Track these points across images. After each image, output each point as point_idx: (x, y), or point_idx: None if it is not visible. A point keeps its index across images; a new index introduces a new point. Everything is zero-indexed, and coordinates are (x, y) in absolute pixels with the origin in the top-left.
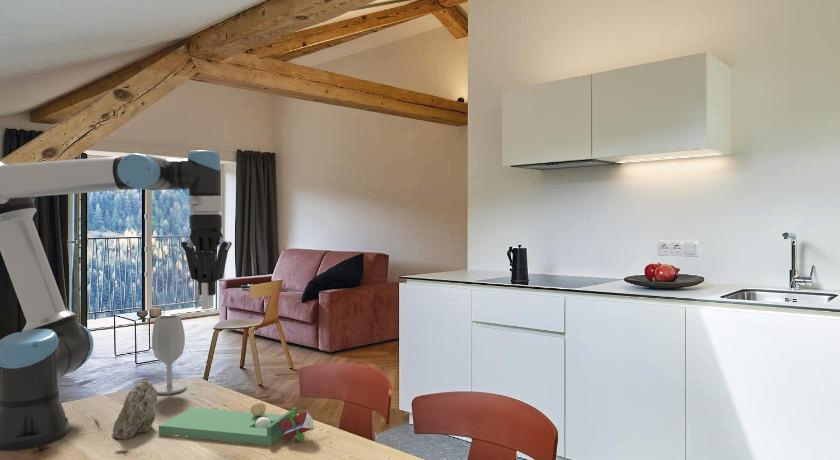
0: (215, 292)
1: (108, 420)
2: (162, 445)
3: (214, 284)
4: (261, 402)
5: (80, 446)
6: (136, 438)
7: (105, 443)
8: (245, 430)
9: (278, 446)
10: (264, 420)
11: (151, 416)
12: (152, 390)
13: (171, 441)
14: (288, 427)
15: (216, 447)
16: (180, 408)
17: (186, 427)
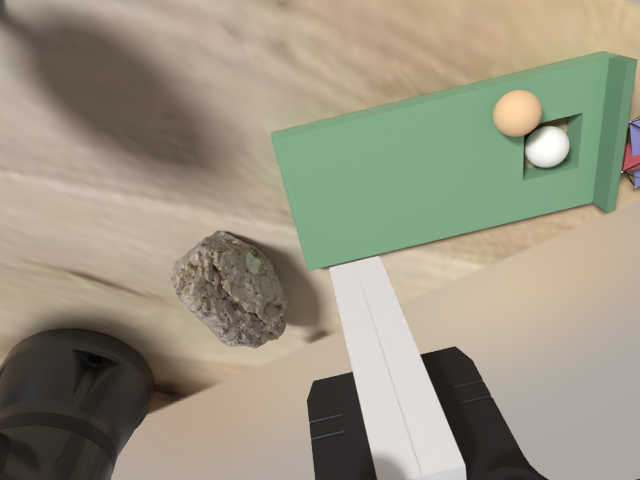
0: (474, 367)
1: (103, 260)
2: None
3: (517, 460)
4: (537, 115)
5: (220, 358)
6: None
7: None
8: (527, 201)
9: None
10: (563, 158)
11: (277, 277)
12: (223, 274)
13: None
14: (636, 156)
15: (478, 248)
16: (177, 104)
17: (380, 250)
